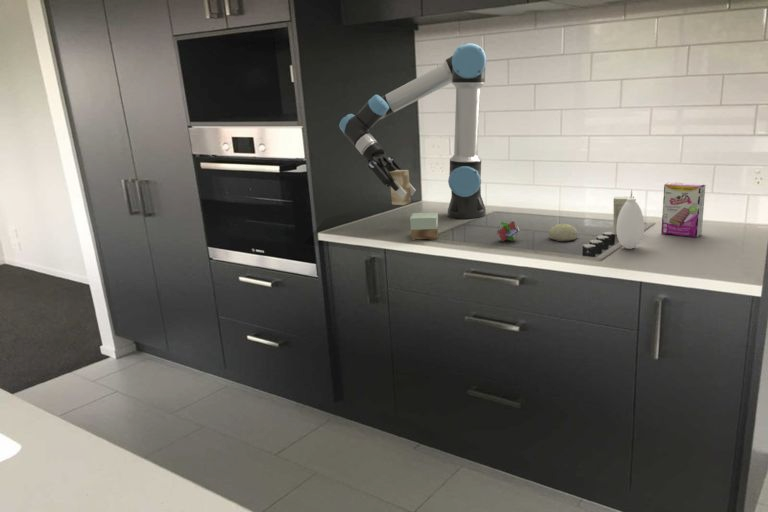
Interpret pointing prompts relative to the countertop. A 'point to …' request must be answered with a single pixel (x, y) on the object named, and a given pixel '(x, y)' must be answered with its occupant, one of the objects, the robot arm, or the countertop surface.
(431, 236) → the tower base block
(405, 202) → the tall oak block
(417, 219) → the tower top block
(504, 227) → the geometric puzzle
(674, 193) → the candy bar box
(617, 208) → the skincare box
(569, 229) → the sea urchin shell
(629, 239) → the white air blower bulb
